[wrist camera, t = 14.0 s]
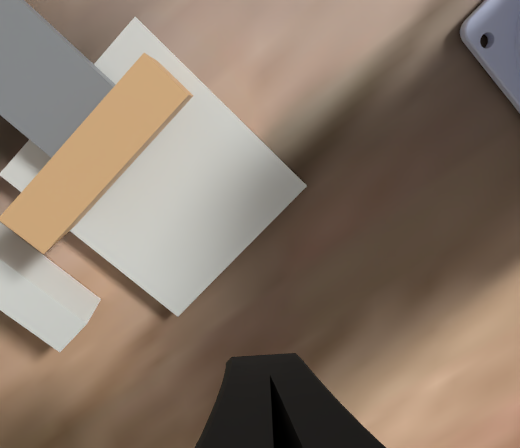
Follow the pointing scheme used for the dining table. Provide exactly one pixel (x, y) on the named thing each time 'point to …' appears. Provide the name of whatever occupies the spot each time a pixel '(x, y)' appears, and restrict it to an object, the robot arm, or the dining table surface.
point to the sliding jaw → (73, 121)
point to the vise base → (153, 207)
